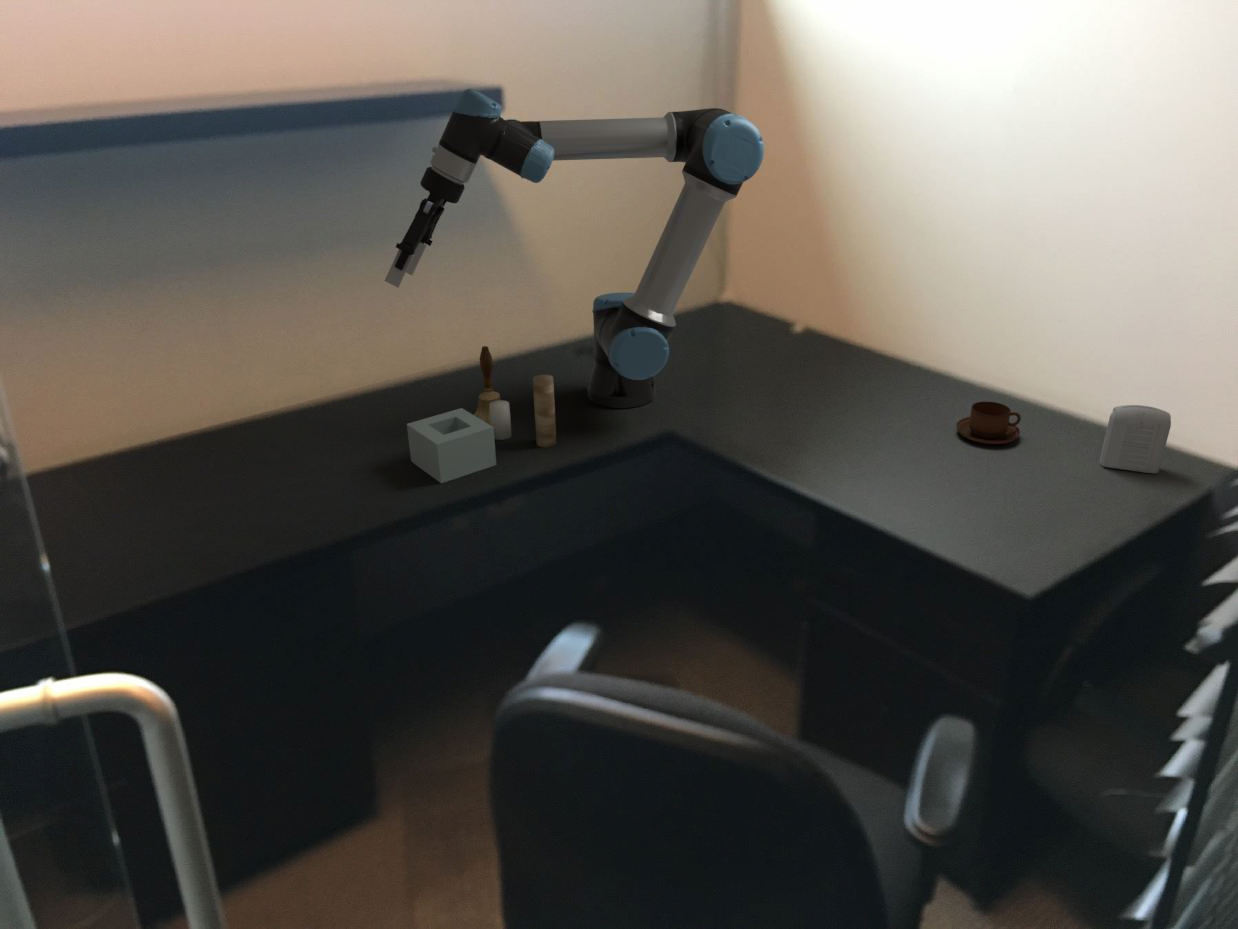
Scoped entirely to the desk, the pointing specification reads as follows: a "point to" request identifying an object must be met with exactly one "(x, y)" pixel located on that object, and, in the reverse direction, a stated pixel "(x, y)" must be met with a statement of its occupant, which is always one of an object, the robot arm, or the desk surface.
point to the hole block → (451, 445)
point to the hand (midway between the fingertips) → (398, 277)
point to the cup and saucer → (989, 424)
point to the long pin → (544, 410)
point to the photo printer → (1135, 438)
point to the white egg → (500, 419)
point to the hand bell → (486, 387)
